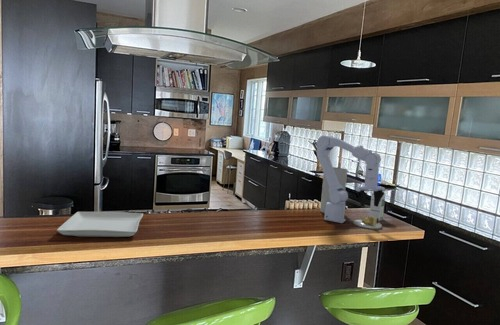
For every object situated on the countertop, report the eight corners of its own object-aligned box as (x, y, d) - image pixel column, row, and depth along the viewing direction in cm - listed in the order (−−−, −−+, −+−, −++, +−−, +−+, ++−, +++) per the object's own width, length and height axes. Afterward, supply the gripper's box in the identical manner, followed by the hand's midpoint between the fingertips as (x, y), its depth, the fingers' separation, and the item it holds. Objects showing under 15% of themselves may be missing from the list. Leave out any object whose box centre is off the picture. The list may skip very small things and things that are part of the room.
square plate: (55, 240, 123) (55, 229, 123) (77, 219, 150) (77, 210, 149) (136, 240, 128) (136, 230, 128) (143, 220, 155) (143, 212, 155)
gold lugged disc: (359, 223, 170) (360, 215, 170) (362, 220, 177) (363, 212, 177) (375, 226, 167) (376, 218, 166) (378, 223, 174) (379, 215, 174)
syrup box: (379, 221, 185) (382, 193, 183) (368, 218, 188) (371, 192, 187) (383, 219, 189) (386, 192, 188) (372, 217, 193) (374, 191, 192)
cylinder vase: (339, 216, 188) (343, 170, 186) (316, 212, 194) (321, 167, 192) (345, 212, 199) (350, 169, 196) (324, 208, 205) (328, 166, 203)
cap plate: (351, 225, 171) (351, 218, 171) (357, 220, 182) (357, 213, 182) (379, 231, 165) (380, 223, 164) (383, 225, 176) (384, 218, 176)
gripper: (363, 178, 161) (361, 208, 163) (389, 179, 166) (387, 207, 167) (354, 177, 168) (352, 204, 169) (380, 177, 172) (378, 204, 173)
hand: (369, 206), depth 168 cm, fingers open, 7 cm apart
